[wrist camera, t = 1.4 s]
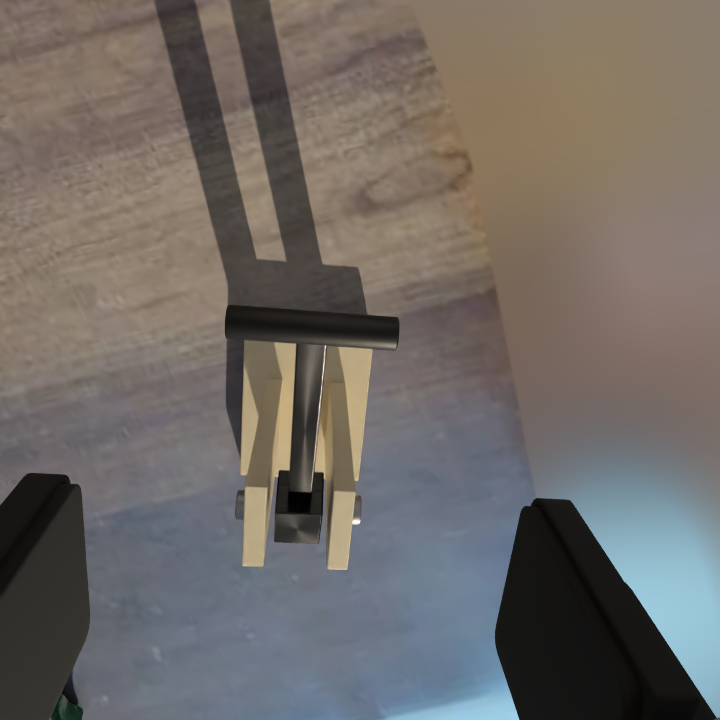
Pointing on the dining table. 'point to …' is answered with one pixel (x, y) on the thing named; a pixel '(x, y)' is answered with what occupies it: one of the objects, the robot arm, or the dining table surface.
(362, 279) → the dining table surface
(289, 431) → the bracket
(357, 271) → the dining table surface
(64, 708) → the juice carton
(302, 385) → the lever
